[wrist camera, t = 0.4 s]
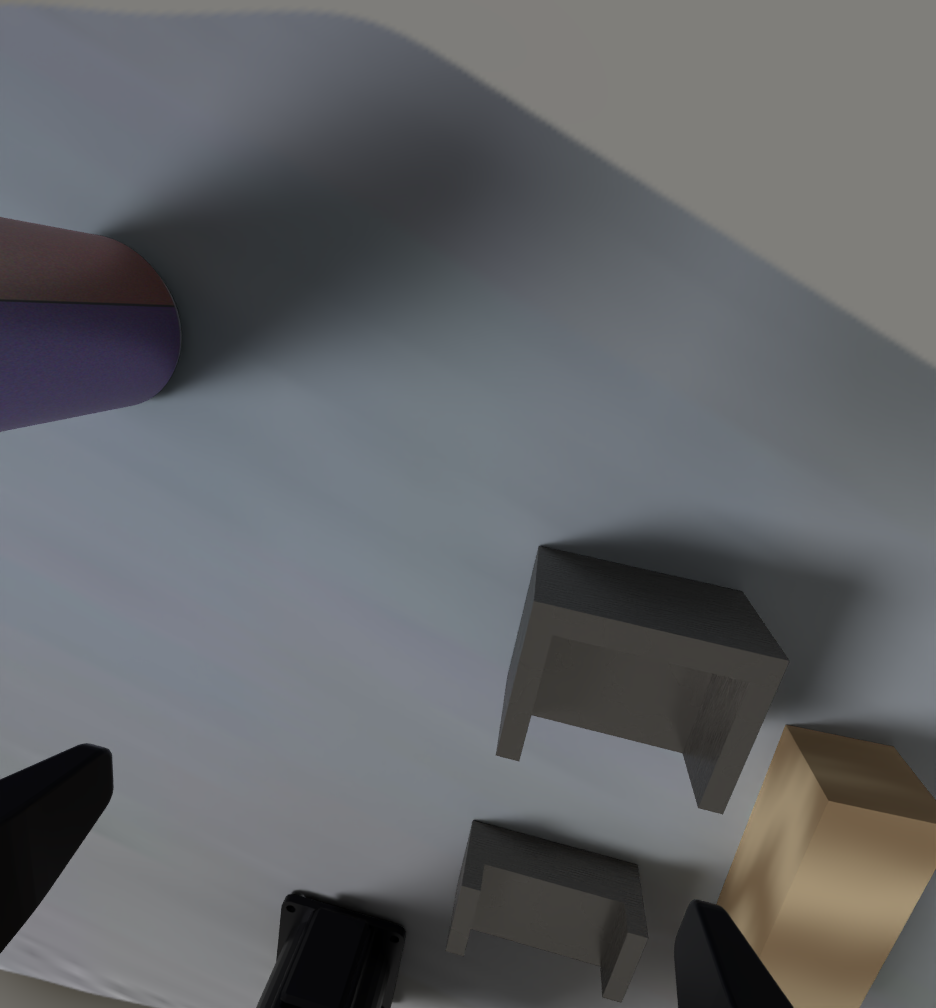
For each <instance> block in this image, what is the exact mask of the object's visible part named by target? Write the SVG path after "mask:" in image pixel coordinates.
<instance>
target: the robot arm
mask: <svg viewBox="0 0 936 1008" xmlns="http://www.w3.org/2000/svg"><path fill="white" fill-rule="evenodd" d="M113 787H114V786H113V765H112V753H111V752H110V750H109V749H107V748H105V747H101V746H97V745H93V744H88V743H85V744H80V745H77V746H75V747H73V748H70V749H68V750H66V751H64V752H61V753H59V754H57V755H55V756H52V757H50V758H48V759H45V760H43V761H41V762H39V763H36V764H34V765H32V766H30V767H27V768H25V769H23V770H21V771H18V772H16V773H14V774H12V775H9V776H7V777H5V778H2V779H0V953H1V952H2V951H3V950H4V948H5V947H6V946H7V945H8V943H9V942H10V941H11V940H12V938H13V937H14V936H15V935H16V933H17V932H18V931H19V930H20V929H21V927H22V926H23V925H24V924H25V922H26V921H27V920H28V918H29V917H30V916H31V915H32V913H33V912H34V911H35V909H36V908H37V907H38V905H39V904H40V903H41V901H42V900H43V898H44V897H45V896H46V894H47V893H48V892H49V890H50V889H51V887H52V886H53V884H54V883H55V881H56V880H57V878H58V877H59V876H60V874H61V873H62V871H63V870H64V868H65V867H66V865H67V864H68V862H69V861H70V859H71V858H72V857H73V855H74V854H75V852H76V851H77V849H78V848H79V846H80V845H81V843H82V842H83V840H84V839H85V838H86V836H87V835H88V833H89V832H90V830H91V829H92V827H93V826H94V824H95V823H96V821H97V820H98V819H99V817H100V816H101V814H102V813H103V811H104V810H105V808H106V807H107V805H108V803H109V801H110V799H111V797H112V793H113ZM405 936H406V931H405V929H404V928H403V927H402V926H400V925H398V924H394V923H391V922H387V921H384V920H381V919H377V918H374V917H370V916H367V915H363V914H360V913H357V912H353V911H350V910H346V909H343V908H339V907H336V906H333V905H329V904H326V903H322V902H319V901H315V900H312V899H309V898H305V897H302V896H298V895H295V894H289V895H287V896H286V898H285V900H284V902H283V904H282V908H281V918H280V929H279V939H278V949H277V960H276V964H275V966H274V968H273V971H272V973H271V975H270V977H269V980H268V982H267V984H266V987H265V989H264V991H263V993H262V996H261V998H260V1000H259V1002H258V1005H257V1007H256V1008H391V1004H392V999H393V994H394V990H395V985H396V980H397V975H398V970H399V965H400V960H401V956H402V951H403V946H404V941H405ZM674 960H675V972H676V985H677V998H678V1008H794V1007H793V1005H792V1004H791V1003H790V1001H789V1000H788V998H787V997H786V995H785V994H784V993H783V991H782V990H781V988H780V987H779V985H778V984H777V983H776V981H775V980H774V978H773V977H772V975H771V974H770V973H769V971H768V970H767V968H766V967H765V965H764V964H763V963H762V961H761V960H760V958H759V957H758V955H757V954H756V953H755V951H754V950H753V948H752V947H751V945H750V944H749V943H748V941H747V940H746V938H745V937H744V935H743V934H742V933H741V931H740V930H739V928H738V927H737V925H736V924H735V923H734V921H733V920H732V918H731V917H730V915H729V914H728V913H727V911H726V910H725V909H724V908H723V907H721V906H719V905H717V904H713V903H709V902H705V901H701V900H693V901H691V902H690V904H689V906H688V908H687V911H686V913H685V916H684V918H683V921H682V923H681V926H680V929H679V931H678V934H677V936H676V940H675V947H674Z"/></svg>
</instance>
